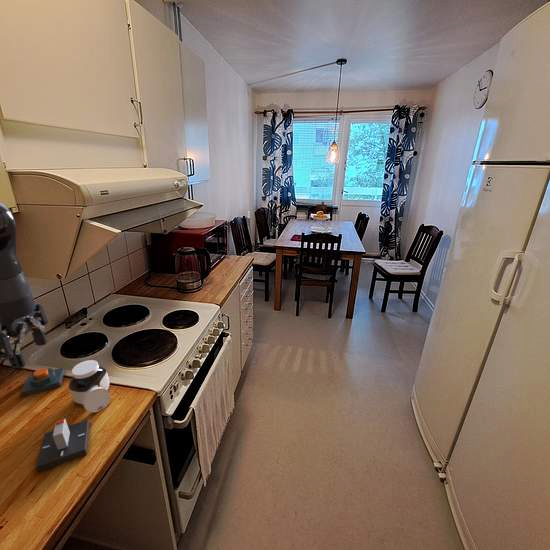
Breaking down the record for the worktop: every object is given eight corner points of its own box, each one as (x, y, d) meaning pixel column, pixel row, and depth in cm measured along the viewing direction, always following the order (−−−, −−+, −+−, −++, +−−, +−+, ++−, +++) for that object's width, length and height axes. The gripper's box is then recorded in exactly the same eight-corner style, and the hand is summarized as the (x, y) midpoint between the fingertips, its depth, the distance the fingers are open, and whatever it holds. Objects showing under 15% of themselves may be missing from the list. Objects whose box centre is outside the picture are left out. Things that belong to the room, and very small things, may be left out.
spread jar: (94, 383, 96) (87, 355, 92) (124, 388, 94) (118, 360, 90) (64, 412, 85) (53, 381, 81) (97, 418, 84) (88, 387, 79)
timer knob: (67, 447, 73) (62, 432, 71) (58, 450, 72) (52, 435, 70) (70, 432, 76) (64, 417, 74) (61, 435, 76) (55, 420, 74)
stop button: (33, 381, 92) (32, 376, 91) (36, 374, 95) (34, 369, 94) (47, 377, 93) (46, 373, 93) (49, 370, 96) (48, 366, 96)
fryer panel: (39, 473, 69) (35, 466, 68) (47, 439, 77) (44, 432, 76) (87, 455, 73) (85, 448, 72) (90, 425, 81) (88, 418, 80)
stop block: (23, 397, 90) (19, 388, 89) (29, 381, 97) (25, 371, 95) (61, 387, 94) (58, 377, 93) (64, 372, 101) (61, 363, 99)
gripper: (11, 282, 68) (32, 339, 74) (-40, 311, 55) (-9, 377, 61) (46, 280, 69) (64, 336, 75) (4, 309, 56) (30, 374, 62)
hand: (31, 355), depth 68 cm, fingers open, 8 cm apart
